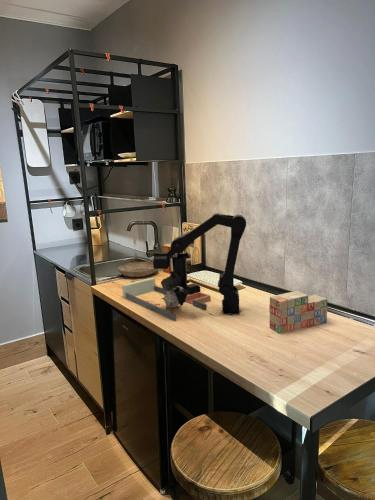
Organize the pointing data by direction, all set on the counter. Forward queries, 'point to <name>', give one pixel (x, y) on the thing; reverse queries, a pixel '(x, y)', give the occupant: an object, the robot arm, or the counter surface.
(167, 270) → the baking soda box
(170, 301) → the game die
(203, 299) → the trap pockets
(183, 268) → the robot arm
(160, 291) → the lane rails
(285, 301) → the stack of blocks
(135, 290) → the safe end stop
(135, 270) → the ceramic bowl
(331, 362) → the counter surface
